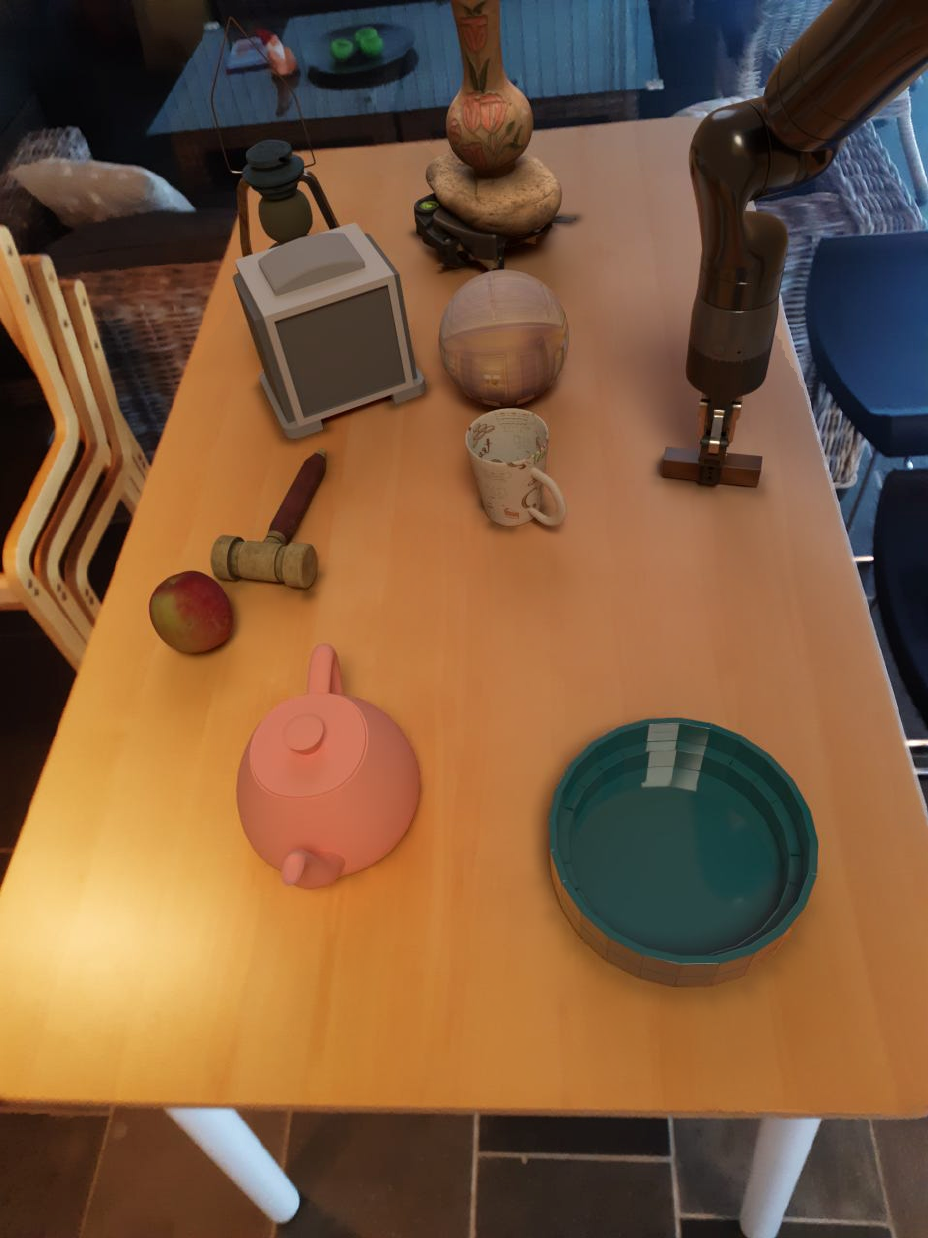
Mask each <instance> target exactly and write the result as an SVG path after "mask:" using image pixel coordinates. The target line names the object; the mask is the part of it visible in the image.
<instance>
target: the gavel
mask: <svg viewBox="0 0 928 1238" xmlns="http://www.w3.org/2000/svg"><path fill="white" fill-rule="evenodd" d="M326 455H327V449H326V448H324V447H320V448H318V449H317V451H315V452H313V454H312V455H310V456H309V457H308V458H307V457H306V459H305V460H304V461H303V463H302V465H301V466H300V468H299V471H298V472H297V474H296V476H295V478H294V480H293V482H292V483H291V485H290V487H289V489H288V491H287V493H286V494H285V496H284V498H283V500H282V502H281V504H280V505H279V507H278V509H277V510H276V513H275V515H274V517H273V518H272V520H271V522H270V523H269V527H268V530H267V534H266V536H265V537H264V539H263V540H262V541H257V540H245V539H244V538H243V537H242V536H236V535H227V534H221V535H219V536H218V537H217V538H216V540H215V541H214V543H213V544H212V547H211V550H210V559H209V560H210V568H211V571H212V573H213V575H214V576H215V578H217V579H219V580H228V581H238V580H240V579H241V578H243V579H245V580H253V581H254V580H255V581H264V582H272V583H284V584H285V585H286V586H287V587H289V588H299V589H308V588H310V587H311V586H312V584H313V583H314V581H315V579H316V576H317V571H318V554H317V551H316V549H315V547H314V545H313V544H311V543H308V542H307V543H306V542H298V541H297V542H296V541H293V542H290V543H289V544H288V545H286V544H287V542H288V541H289V540H290V539H291V538H292V536H293V534H294V532H295V530H296V528H297V527H298V525H299V523H300V521H301V519H302V518H303V517H302V516H303V515H304V513H305V511H306V509H307V507H308V505H309V503H310V502H311V499H312V497H313V496H314V493H315V491H316V489H317V488H318V485H319V484H320V482H321V480H322V478H323V476H324V474H325V473H326V460H327V457H326Z"/></svg>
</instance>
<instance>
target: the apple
mask: <svg viewBox="0 0 928 1238" xmlns="http://www.w3.org/2000/svg"><path fill="white" fill-rule="evenodd" d="M148 613H149V619H150V622H151V624H152V627H153V629H154V631H155V633H156V634H157V636H158V637H159V638H160V639H161V640H162V641H163V642H164V643H165V644H166V645H167V646H169V647H170V648H172V649H174V651H177V652H180V653H186V654H198V653H203V652H207V651H209V650H212V649H215V648H216V647H218V646H220V645H221V644H222V643H224V642H226V641H227V639H228V638H229V637H230V636H231V633H232V631H233V626H234V612H233V607H232V604H231V601H230V599H229V597H228V594H227V593H226V592H225V590H224V589H223V587H222V586H221V585H220V584H219V583H218V582H217V581H216V580H215V579H214V578H212V576H209V575H208V574H206V573H204V572H201V571H198V570H185V571H181V572H179V573H175V574H173V575H170V576H169V577H167V578H165V579H164V580H162V582H161V583H159V584H158V585H157V586H156V587H155V589H154V591H153V592H152V593H151V596H150V598H149V601H148Z"/></svg>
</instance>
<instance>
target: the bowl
mask: <svg viewBox="0 0 928 1238" xmlns="http://www.w3.org/2000/svg"><path fill="white" fill-rule="evenodd" d="M806 801H807V800H805V798H804V796H803V794H802V792H801V791H800V789H799V787H798V785H797V783H796V781H795V780H794V778H793V777H792V776H791V775H790V774H789V773H788V772H787V771H786V770H785V769H784V768H783V766H782V765H780V763H779V762H778V761H777V760H776V759H775V758H774V756H772V755H771V754H770V753H768V752H767V751H765V749H763V748H762V747H760V746H759V745H757V744H755V742H752V741H751V740H750V739H748V738H747V737H745V736H743V735H742V734H739V733H737V732H735V731H732V730H730V729H727V728H725V727H722V726H720V725H718V724H715V723H711V722H707V721H702V720H697V719H690V718H685V717H660V718H659V717H658V718H645V719H642V720H637V721H635V722H631V723H627V724H624V725H621V726H617V727H615V728H613V729H611V730H610V731H609V732H607V733H605V734H603V735H601V736H600V737H598V738H596V739H594V740H592V741H591V742H590V743H589V744H587V746H585V748H583V750H581V752H580V753H578V755H576V756H575V757H574V759H573V760H572V761H570V763H569V764H568V765H567V767H566V769H565V771H564V773H563V774H562V776H561V778H560V780H559V782H558V784H557V785H556V787H555V790H554V792H553V797H552V802H551V806H550V810H549V815H548V839H549V840H548V841H549V856H550V857H549V858H550V872H551V874H550V875H551V881H552V883H553V886H554V889H555V892H556V895H557V898H558V901H559V904H560V907H561V909H562V910H563V912H564V914H565V915H566V917H567V918H568V921H569V922H570V924H571V925H572V926H573V928H574V929H575V932H576V933H577V934H578V936H579V937H580V938H581V939H582V940H583V941H584V942H585V943H586V944H587V945H588V946H589V947H591V948H592V949H593V950H594V951H595V952H596V953H597V954H598V955H599V956H601V957H602V958H603V959H604V960H605V961H606V962H607V963H609V964H611V965H613V966H615V967H617V968H619V969H621V970H622V971H624V972H626V973H627V974H630V975H632V976H634V977H635V978H637V979H640V980H644V981H647V982H652V983H656V984H660V985H664V986H668V987H672V988H706V987H708V988H709V987H714V986H717V985H720V984H724V983H727V982H730V981H733V980H736V979H740V978H743V977H745V976H747V975H748V974H749V973H751V972H753V971H754V970H755V969H757V968H758V967H760V966H761V965H763V964H764V963H766V962H767V961H768V960H770V959H771V958H772V957H773V956H774V955H775V954H776V952H777V951H778V950H779V948H780V947H781V946H782V945H783V943H784V942H785V941H786V940H787V938H788V937H789V936H790V935H791V933H792V932H793V930H794V929H795V927H796V924H797V923H798V921H799V919H800V917H801V916H802V914H803V912H804V911H805V909H806V907H807V905H808V901H809V899H810V896H811V894H812V891H813V888H814V885H815V882H816V879H817V878H818V877H817V876H818V863H819V838H818V835H817V831H816V826H815V822H814V819H813V815H812V810H811V809H810V807H809V805H808V803H807V802H806Z"/></svg>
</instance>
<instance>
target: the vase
mask: <svg viewBox="0 0 928 1238" xmlns="http://www.w3.org/2000/svg"><path fill="white" fill-rule="evenodd" d="M449 2H450V6H451V10H452V15H453V19H454V23H455V27H456V33H457V38H458V44H459V49H460V56H461V62H462V84H461V87H460V89H459V91H458V93H457V94H456V96H455V97H454V99H453V100H452V101H451V103H450V105H449V108H448V110H447V114H446V119H445V129H446V130H445V131H446V136H447V141H448V144H449V146H450V148H451V150H452V151H450V152H446V153H444V154H441V155H438V156H437V157H435V158H434V159H433V160H432V161H431V162H429V164H428V166H427V167H426V169H425V181H426V183H427V184H428V186H429V187H430V189H431V190H432V191H433V193H430V194H427V195H426V196H423V197H422V198H420V199H418V200H417V201H416V202H415V203H414V204H413V215H414V222H415V234H417V235H419V236H421V240H422V242H423V244H424V245H426V246H428V247H431V248H432V249H434V250H435V251H436V252H437V253H438V255H439V257H440V259H441V263H439V264H438V263H437V264H436V267H437V268H443V267H451V268H453V269H459V268H464V267H466V266H468V263H467V262H468V261H476V262H479V263H480V264H481V265H483V266H484V267H485V268H487V270H488V272H490V271H494V270H493V269H496V270H505V254H504V251H505V249H507V248H511V247H516V246H519V245H522V244H532V245H537V239H536V238H537V237H538V236H540V235H543V234H546V233H547V232H548V231H550V230H551V229H552V228H553V227H554V225H553V223H566V224H570V223H572V222H573V220H575V221H576V220H577V218H576V217H574V218H573V217H572V218H571V217H566V216H561V215H557V214H558V212H559V210H560V209H561V205H562V198H563V190H562V185H561V183H560V181H559V179H558V178H557V176H556V175H555V174H554V173H553V172H552V171H551V170H550V169H549V168H548V167H547V166H546V164H545V163H544V162H543V161H542V160H541V159H540V158H537V157H536V156H534V155H531V154H528V153H525V152H526V150H527V148H528V146H529V144H530V142H531V140H532V135H533V131H534V130H533V129H534V116H533V111H532V108H531V105H530V103H529V100H528V99H527V97H526V96H525V94H524V93H523V92H522V91H521V90H520V89H519V88H518V87H516V86H515V85H514V84H513V83H512V82H511V81H510V80H509V79H508V77H507V75H506V71H505V67H504V61H503V53H502V39H501V38H502V37H501V0H449ZM519 235H521V236H519ZM458 252H464V253H465V254H466V255H467V256H468V258H467V259H466V260H465V261H464V260H462V259H461V258H460V257H459V256H458Z"/></svg>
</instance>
